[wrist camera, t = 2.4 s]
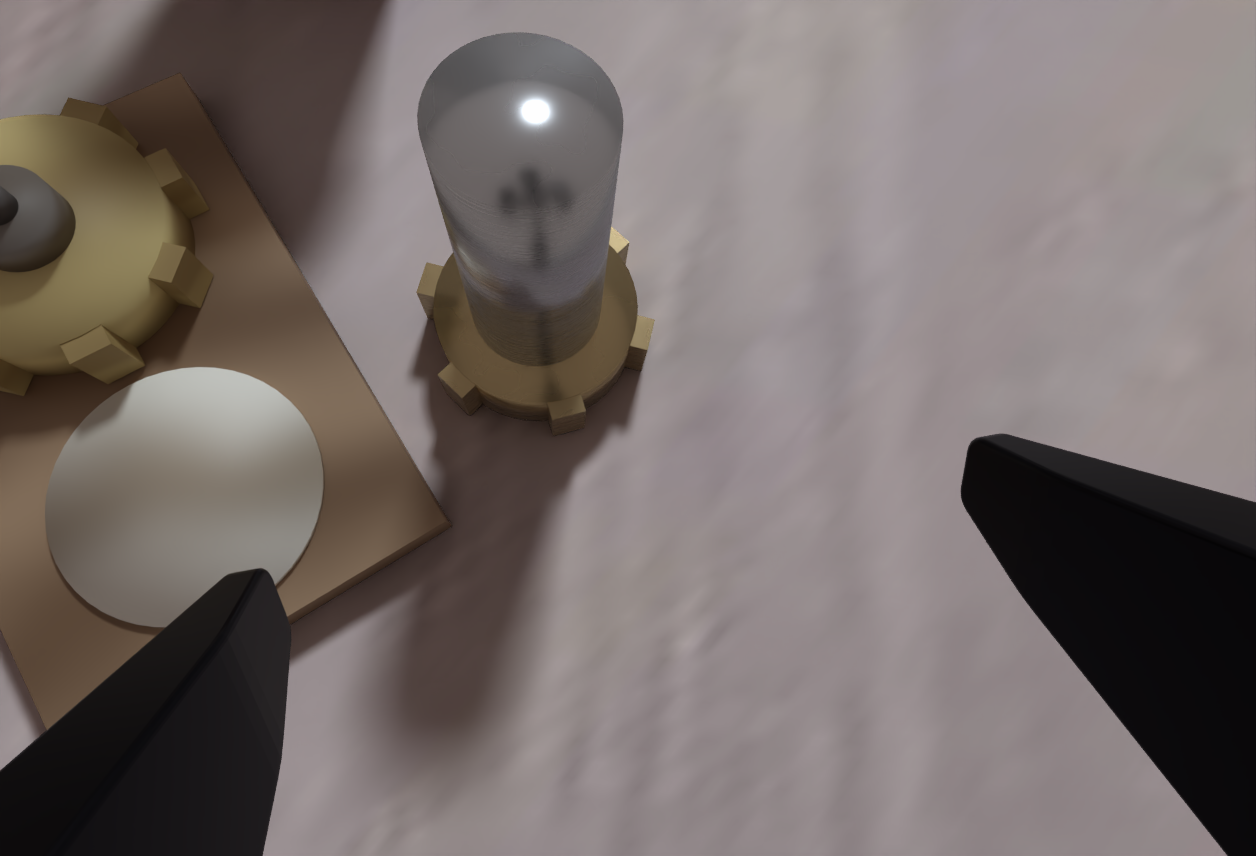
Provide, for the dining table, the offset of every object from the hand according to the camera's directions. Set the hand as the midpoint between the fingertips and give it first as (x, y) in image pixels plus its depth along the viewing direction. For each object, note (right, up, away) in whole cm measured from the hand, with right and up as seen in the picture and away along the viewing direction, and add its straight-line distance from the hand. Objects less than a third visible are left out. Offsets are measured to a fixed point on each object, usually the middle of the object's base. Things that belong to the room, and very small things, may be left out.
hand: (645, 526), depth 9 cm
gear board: (-15, +3, +13) cm, 20 cm away
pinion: (-3, +4, +15) cm, 16 cm away
